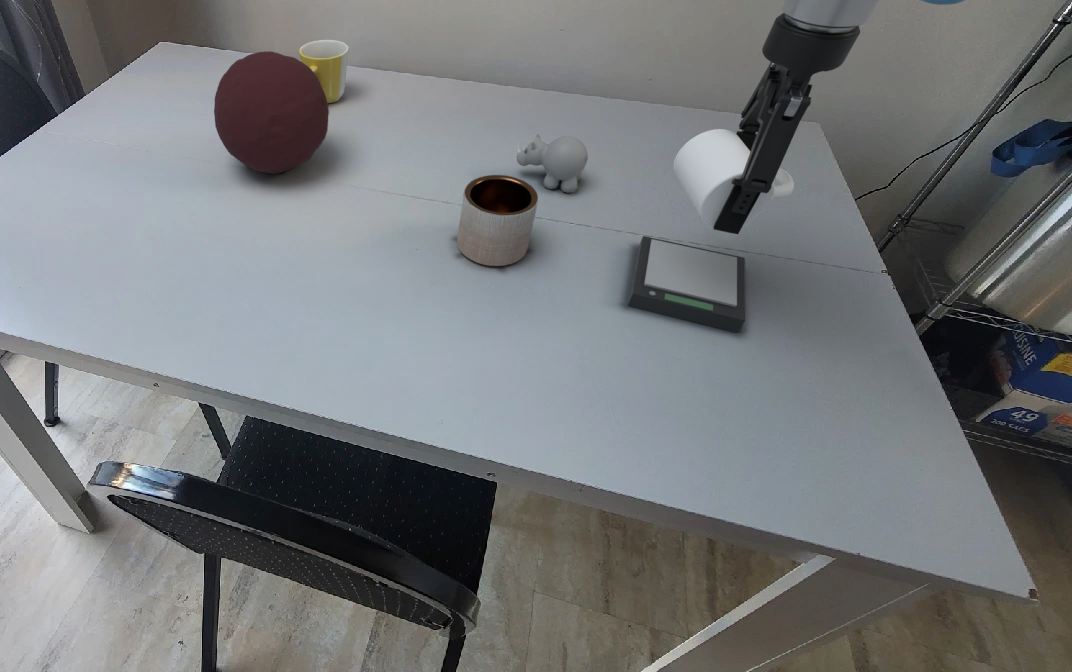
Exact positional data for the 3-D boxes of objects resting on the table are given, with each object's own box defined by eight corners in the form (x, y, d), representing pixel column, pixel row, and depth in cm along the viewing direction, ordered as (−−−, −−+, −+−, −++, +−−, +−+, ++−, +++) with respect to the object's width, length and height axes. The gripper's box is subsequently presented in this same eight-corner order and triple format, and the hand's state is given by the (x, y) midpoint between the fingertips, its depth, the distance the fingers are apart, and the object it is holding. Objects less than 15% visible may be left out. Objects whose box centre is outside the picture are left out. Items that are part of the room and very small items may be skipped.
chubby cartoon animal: (518, 162, 110) (527, 119, 104) (584, 178, 106) (597, 133, 100) (506, 182, 106) (514, 137, 100) (574, 199, 102) (587, 153, 96)
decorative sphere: (235, 139, 119) (215, 34, 105) (334, 138, 118) (328, 32, 104) (216, 195, 106) (191, 83, 91) (328, 195, 105) (320, 81, 90)
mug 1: (322, 83, 136) (319, 35, 128) (359, 94, 132) (358, 45, 124) (283, 107, 128) (278, 57, 121) (321, 119, 124) (318, 68, 116)
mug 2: (689, 229, 73) (716, 171, 67) (663, 184, 80) (686, 128, 74) (790, 229, 73) (826, 171, 67) (755, 184, 79) (786, 127, 74)
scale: (737, 333, 80) (747, 318, 78) (627, 305, 84) (633, 291, 82) (737, 270, 88) (746, 255, 86) (637, 248, 92) (643, 233, 90)
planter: (444, 253, 93) (450, 200, 86) (475, 218, 99) (483, 166, 92) (509, 278, 88) (521, 225, 81) (537, 239, 95) (550, 187, 88)
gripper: (773, -21, 68) (698, 153, 84) (783, 59, 54) (689, 251, 70) (849, -14, 66) (757, 163, 82) (881, 71, 51) (761, 266, 67)
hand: (726, 203), depth 76 cm, fingers closed on mug 2, 11 cm apart
